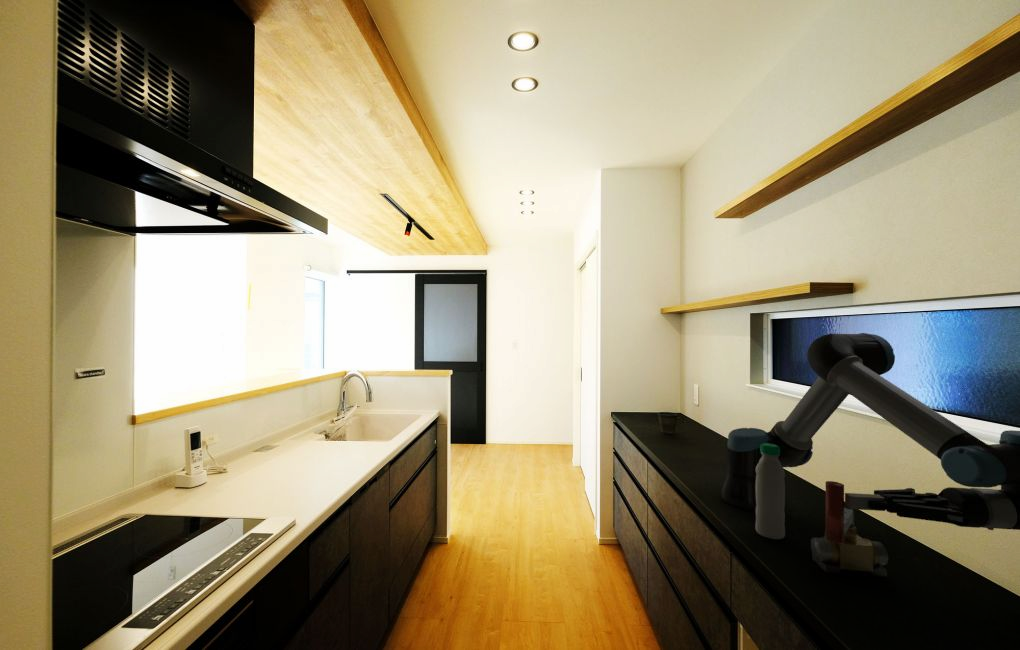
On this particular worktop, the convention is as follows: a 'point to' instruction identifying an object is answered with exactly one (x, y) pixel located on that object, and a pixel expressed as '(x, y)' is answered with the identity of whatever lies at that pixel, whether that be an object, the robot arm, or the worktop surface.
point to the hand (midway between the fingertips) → (847, 500)
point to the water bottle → (770, 493)
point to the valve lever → (837, 513)
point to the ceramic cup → (668, 421)
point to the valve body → (850, 554)
